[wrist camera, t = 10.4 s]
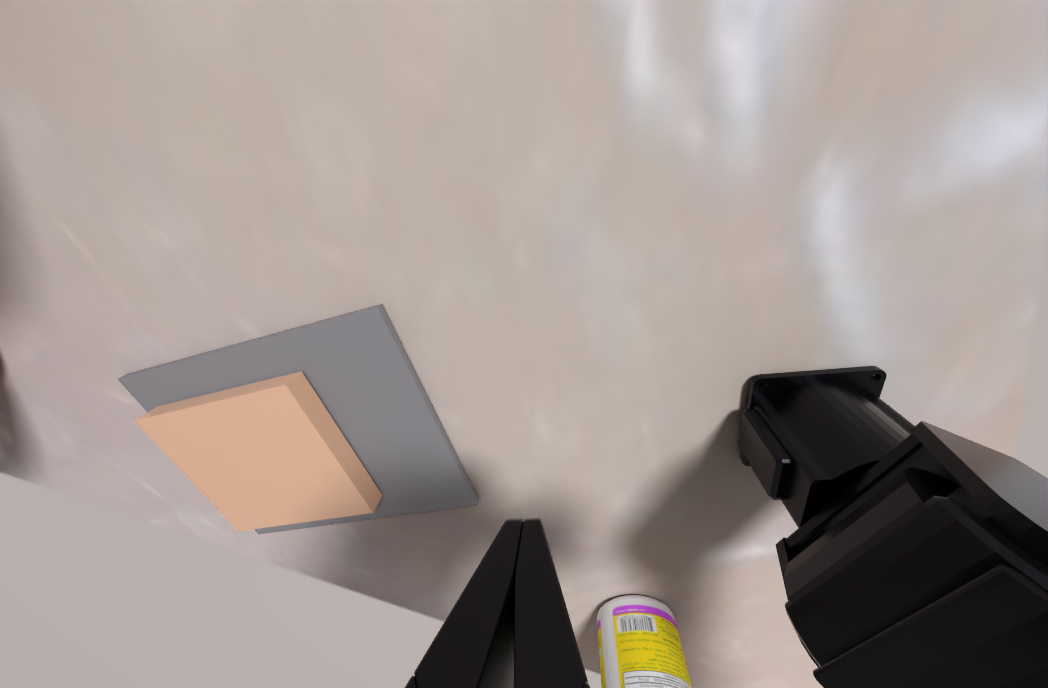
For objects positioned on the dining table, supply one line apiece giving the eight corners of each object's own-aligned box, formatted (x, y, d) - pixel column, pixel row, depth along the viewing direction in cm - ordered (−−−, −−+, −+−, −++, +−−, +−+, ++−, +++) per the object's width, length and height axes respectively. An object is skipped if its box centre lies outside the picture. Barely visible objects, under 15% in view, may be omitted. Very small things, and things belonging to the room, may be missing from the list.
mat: (382, 303, 21) (377, 307, 20) (478, 498, 28) (476, 505, 27) (126, 374, 25) (117, 379, 25) (263, 527, 32) (258, 534, 31)
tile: (285, 384, 21) (134, 420, 24) (373, 512, 26) (238, 531, 29) (303, 369, 23) (159, 404, 25) (383, 493, 27) (254, 512, 30)
